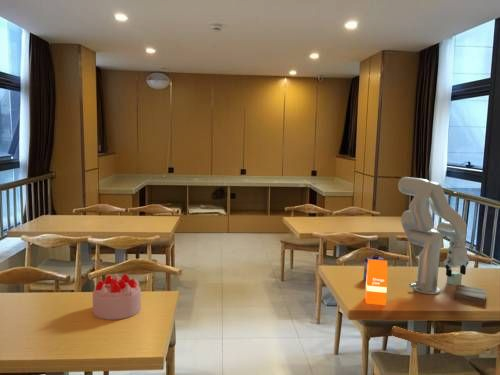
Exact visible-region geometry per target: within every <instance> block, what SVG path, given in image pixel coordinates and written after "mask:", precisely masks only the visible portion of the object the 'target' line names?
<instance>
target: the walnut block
mask: <svg viewBox="0 0 500 375" xmlns="http://www.w3.org/2000/svg"><path fill="white" fill-rule="evenodd" d="M486 295H487V289H482V288H479V287H471V286H465V285H462V284H461V285H456V288H455V291H454V296H453V301H455V302H461V303H467V304H472V305H477V306H482V307H485V305H486Z"/></svg>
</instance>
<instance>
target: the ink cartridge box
mask: <svg viewBox="0 0 500 375" xmlns="http://www.w3.org/2000/svg"><path fill="white" fill-rule="evenodd" d="M368 259H370V260H383V261H386V259H385V258H383V257H381V256H380V254H375V255H373V257H370V256H369V257H365V258H364V265H363V266H364V268H363V280H364V281H366V276H367V265H368Z"/></svg>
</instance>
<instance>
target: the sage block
mask: <svg viewBox="0 0 500 375" xmlns="http://www.w3.org/2000/svg"><path fill="white" fill-rule="evenodd" d="M462 278H463V274H461V273H460V272H458V271H455V270H454V271H452V275H451V277H449V276H446V283H447V284H449V285H451V286H457V285H461V286H462Z"/></svg>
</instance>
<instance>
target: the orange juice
mask: <svg viewBox="0 0 500 375" xmlns="http://www.w3.org/2000/svg"><path fill="white" fill-rule="evenodd" d="M387 288H388V260H385V261H383V260H370V259H368V265H367V276H366V280H365V304H370V305H379V306H380V305H381V306H386V303H387V293H388V292H387V291H388V289H387Z"/></svg>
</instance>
